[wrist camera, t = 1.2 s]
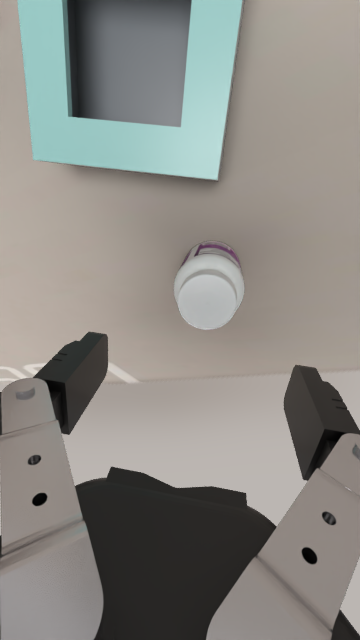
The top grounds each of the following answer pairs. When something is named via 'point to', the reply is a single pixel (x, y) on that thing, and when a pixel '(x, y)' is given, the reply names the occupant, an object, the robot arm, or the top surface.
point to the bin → (131, 82)
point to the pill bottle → (209, 285)
